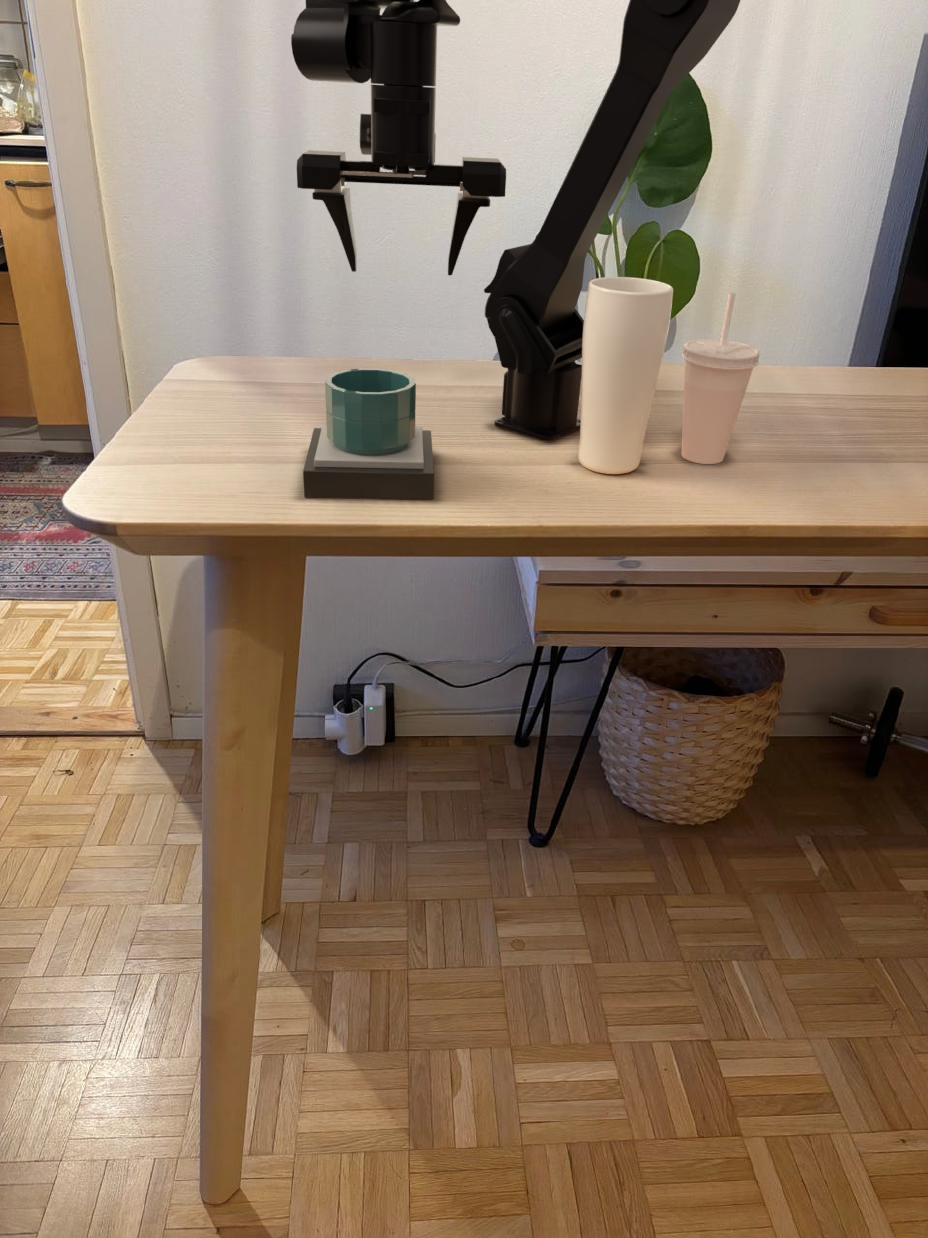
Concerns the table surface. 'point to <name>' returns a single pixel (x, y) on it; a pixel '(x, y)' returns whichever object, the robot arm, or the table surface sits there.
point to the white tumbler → (620, 368)
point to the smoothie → (714, 392)
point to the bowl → (370, 410)
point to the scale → (369, 470)
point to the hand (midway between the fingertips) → (402, 272)
